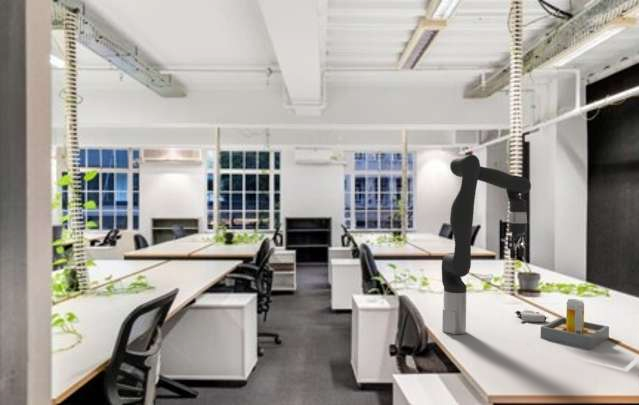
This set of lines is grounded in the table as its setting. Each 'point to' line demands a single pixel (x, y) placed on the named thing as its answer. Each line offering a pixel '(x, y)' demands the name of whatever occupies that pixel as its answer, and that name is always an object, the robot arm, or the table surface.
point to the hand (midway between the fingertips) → (517, 257)
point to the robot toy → (531, 316)
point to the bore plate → (586, 332)
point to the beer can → (575, 316)
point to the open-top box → (573, 338)
